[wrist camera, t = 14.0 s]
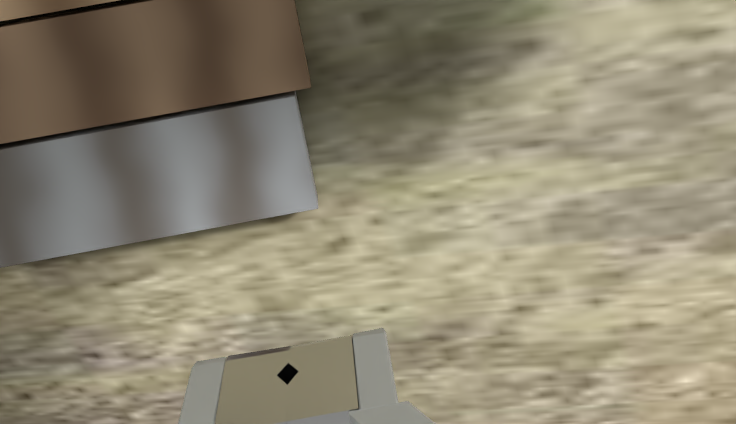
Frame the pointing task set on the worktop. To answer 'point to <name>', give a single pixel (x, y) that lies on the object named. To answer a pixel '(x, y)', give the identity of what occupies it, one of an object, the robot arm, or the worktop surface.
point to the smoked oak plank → (40, 7)
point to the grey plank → (153, 178)
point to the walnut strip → (144, 62)
